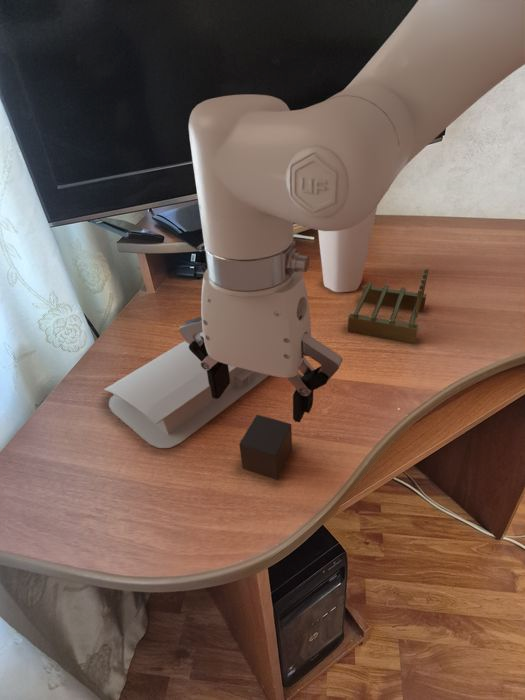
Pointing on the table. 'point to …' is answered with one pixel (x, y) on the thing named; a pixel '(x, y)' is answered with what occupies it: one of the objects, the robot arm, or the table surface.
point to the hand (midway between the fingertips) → (260, 401)
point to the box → (266, 446)
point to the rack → (396, 300)
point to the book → (174, 396)
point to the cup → (345, 255)
